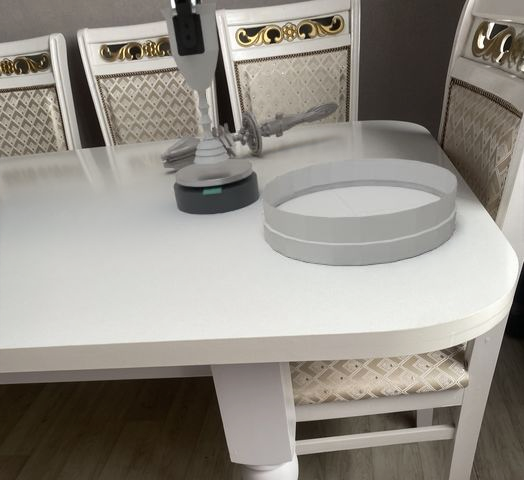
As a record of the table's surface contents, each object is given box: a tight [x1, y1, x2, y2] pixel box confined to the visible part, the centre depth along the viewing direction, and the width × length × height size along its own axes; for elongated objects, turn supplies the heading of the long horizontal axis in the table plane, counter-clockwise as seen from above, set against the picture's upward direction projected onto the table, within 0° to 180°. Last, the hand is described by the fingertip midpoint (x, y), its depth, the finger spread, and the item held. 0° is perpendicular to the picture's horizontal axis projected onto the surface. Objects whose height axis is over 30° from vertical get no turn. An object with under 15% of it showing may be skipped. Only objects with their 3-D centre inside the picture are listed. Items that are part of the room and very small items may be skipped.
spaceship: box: [159, 101, 339, 170], centre depth 95 cm, size 8×35×8 cm
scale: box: [172, 170, 260, 216], centre depth 75 cm, size 12×12×3 cm
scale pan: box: [174, 158, 254, 187], centre depth 74 cm, size 11×11×1 cm
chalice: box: [159, 1, 229, 164], centre depth 68 cm, size 7×7×18 cm
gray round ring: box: [261, 157, 458, 266], centre depth 61 cm, size 22×22×5 cm
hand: (194, 51), depth 66 cm, fingers closed on chalice, 7 cm apart
